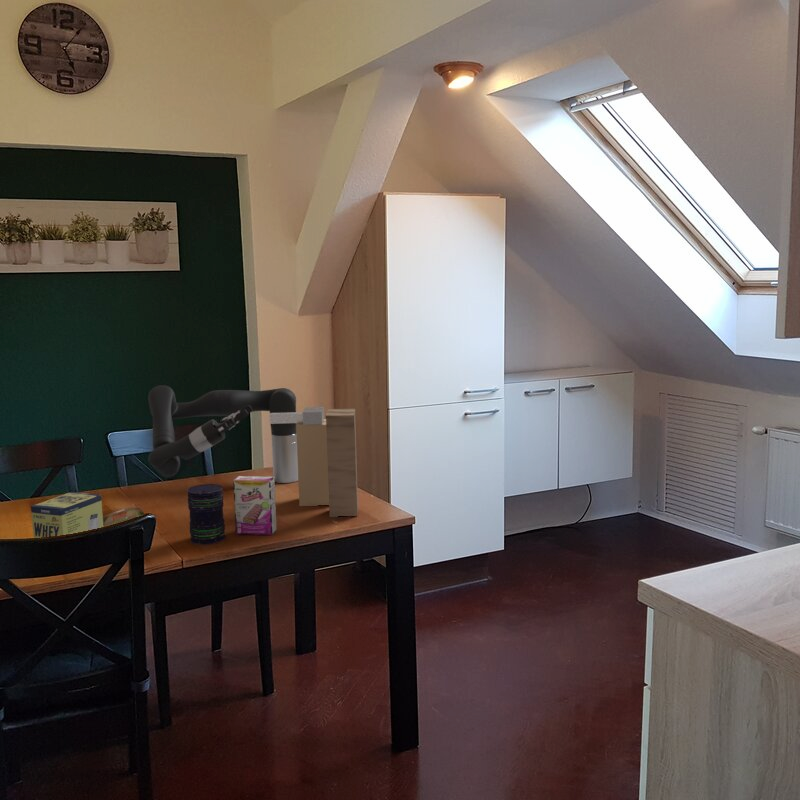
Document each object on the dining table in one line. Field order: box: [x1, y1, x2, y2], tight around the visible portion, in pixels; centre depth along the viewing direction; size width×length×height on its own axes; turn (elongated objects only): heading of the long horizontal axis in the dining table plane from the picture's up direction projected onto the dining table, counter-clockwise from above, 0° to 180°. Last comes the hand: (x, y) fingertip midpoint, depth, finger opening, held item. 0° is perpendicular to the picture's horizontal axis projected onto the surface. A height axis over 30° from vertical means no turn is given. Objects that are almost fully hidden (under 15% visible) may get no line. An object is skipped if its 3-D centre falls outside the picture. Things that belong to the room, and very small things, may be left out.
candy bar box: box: [233, 475, 277, 536], centre depth 242 cm, size 11×5×16 cm, turn 84°
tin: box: [103, 506, 145, 526], centre depth 240 cm, size 15×3×8 cm, turn 148°
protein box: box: [30, 491, 104, 539], centre depth 226 cm, size 10×16×16 cm
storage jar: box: [186, 483, 226, 546], centre depth 237 cm, size 10×10×15 cm
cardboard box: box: [296, 418, 329, 507], centre depth 272 cm, size 10×12×27 cm
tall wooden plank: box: [325, 408, 359, 518], centre depth 258 cm, size 12×8×32 cm
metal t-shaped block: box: [269, 406, 325, 425], centre depth 270 cm, size 10×17×4 cm, turn 91°
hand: (249, 410), depth 269 cm, fingers open, 8 cm apart
